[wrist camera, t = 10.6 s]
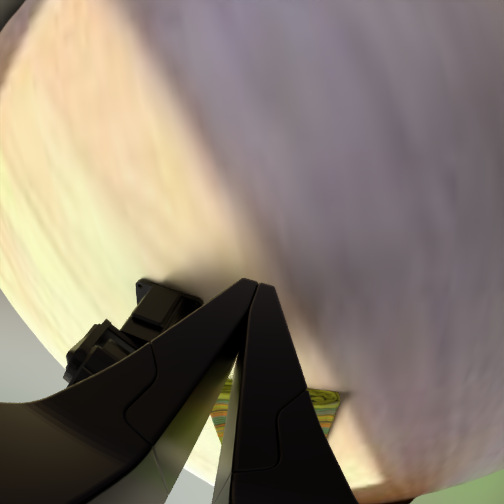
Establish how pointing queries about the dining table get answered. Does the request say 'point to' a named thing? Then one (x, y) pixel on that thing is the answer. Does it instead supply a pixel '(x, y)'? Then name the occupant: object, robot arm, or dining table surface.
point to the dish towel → (321, 399)
